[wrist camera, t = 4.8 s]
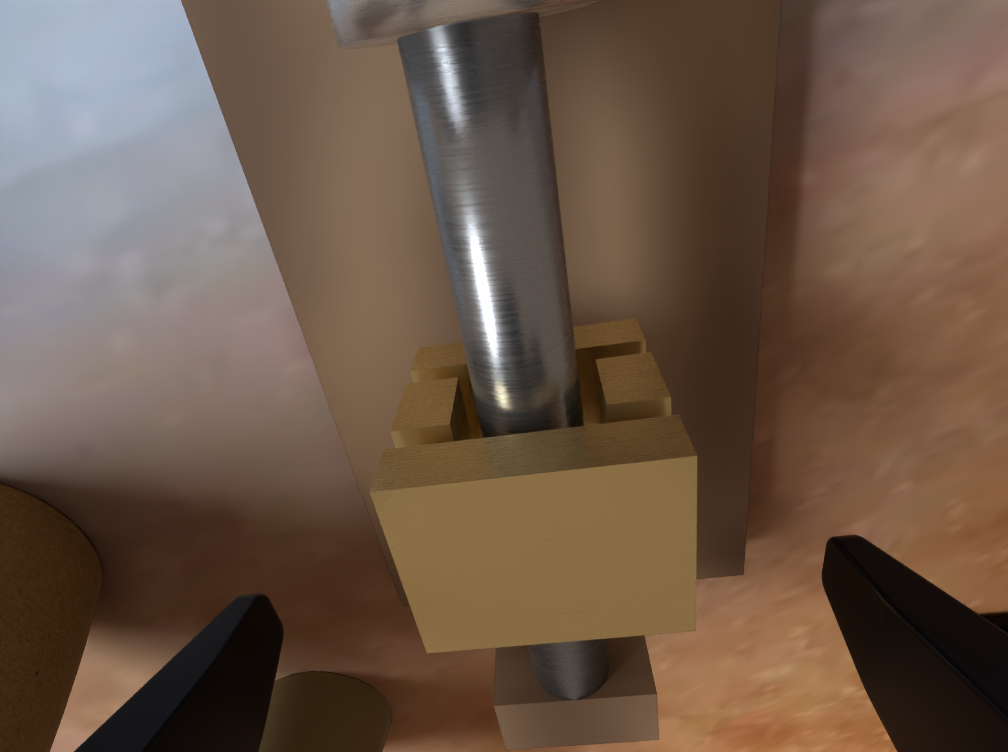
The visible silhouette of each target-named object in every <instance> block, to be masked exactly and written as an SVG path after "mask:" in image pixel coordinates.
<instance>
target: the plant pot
mask: <svg viewBox="0 0 1008 752" xmlns="http://www.w3.org/2000/svg"><path fill="white" fill-rule="evenodd" d="M101 585H102V569H101V564H100V561H99V558H98V556H97V554H96V552H95V550H94V549H93V547H92V545H91V544H90V542H89V541H88V539H87V538H86V537H85V536H84V534H83V533H82V532H81V531H80V530H79V529H78V528H77V527H76V526H75V525H74V524H73V523H72V522H71V521H69V520H68V519H67V518H66V517H64V516H63V515H62V514H60V513H59V512H58V511H56V510H55V509H54V508H52V507H51V506H49V505H47V504H46V503H44V502H42V501H40V500H38V499H37V498H35V497H33V496H31V495H28V494H26V493H24V492H21V491H19V490H17V489H14V488H12V487H9V486H5V485H2V484H0V752H50V750H51V747H52V744H53V741H54V739H55V736H56V733H57V730H58V728H59V725H60V722H61V719H62V716H63V714H64V711H65V708H66V705H67V702H68V698H69V695H70V692H71V689H72V686H73V683H74V680H75V677H76V674H77V671H78V668H79V665H80V662H81V658H82V655H83V652H84V649H85V645H86V642H87V638H88V635H89V631H90V627H91V624H92V620H93V616H94V613H95V609H96V605H97V601H98V597H99V593H100V589H101Z"/></svg>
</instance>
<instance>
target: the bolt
mask: <svg viewBox="0 0 1008 752" xmlns="http://www.w3.org/2000/svg"><path fill="white" fill-rule="evenodd" d="M596 2H598V0H326V4H327V7H328V11H329V15H330V19H331V23H332V27H333V30H334V34H335V38H336V42H337V46H338V49H340V50H350V49H361V48H370V47H378V46H386V45H393V44H398V48H399V53H400V57H401V62H402V66H403V71H404V76H405V80H406V85H407V90H408V94H409V99H410V103H411V108H412V113H413V117H414V122H415V126H416V131H417V136H418V140H419V145H420V150H421V154H422V159H423V163H424V168H425V173H426V177H427V182H428V186H429V191H430V196H431V200H432V205H433V210H434V214H435V219H436V223H437V228H438V233H439V237H440V242H441V247H442V251H443V256H444V260H445V265H446V270H447V274H448V279H449V283H450V288H451V293H452V297H453V302H454V307H455V311H456V316H457V320H458V325H459V330H460V334H461V339H462V343H463V348H464V353H465V357H466V362H467V367H468V371H469V376H470V380H471V385H472V390H473V394H474V399H475V403H476V408H477V413H478V417H479V422H480V427H481V431H482V436H483V438H487V437H495V436H503V435H512V434H520V433H529V432H537V431H546V430H554V429H562V428H571V427H579V426H584V421H583V412H582V403H581V394H580V384H579V375H578V366H577V357H576V348H575V339H574V330H573V320H572V311H571V302H570V293H569V284H568V275H567V266H566V256H565V247H564V238H563V229H562V220H561V211H560V202H559V192H558V183H557V174H556V165H555V156H554V147H553V138H552V128H551V119H550V110H549V101H548V92H547V83H546V74H545V64H544V55H543V46H542V37H541V28H540V19H539V18H540V17H544V16H549V15H553V14H557V13H562V12H566V11H570V10H574V9H577V8H581V7H584V6H588V5H591V4H594V3H596ZM528 648H529V653H530V657H531V662H532V667H533V671H534V675H535V678H536V680H537V682H538V683H539V685H540V686H541V687H542V688H543V689H544V690H545V691H546V692H547V693H549V694H550V695H552V696H554V697H556V698H559V699H563V700H579V699H583V698H586V697H588V696H590V695H592V694H594V693H595V692H596V691H598V690H599V689H600V688H601V687H602V685H603V684H604V683H605V681H606V679H607V677H608V674H609V669H610V659H609V650H608V640H607V638H606V639H594V640H582V641H570V642H558V643H546V644H534V645H528Z"/></svg>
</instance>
